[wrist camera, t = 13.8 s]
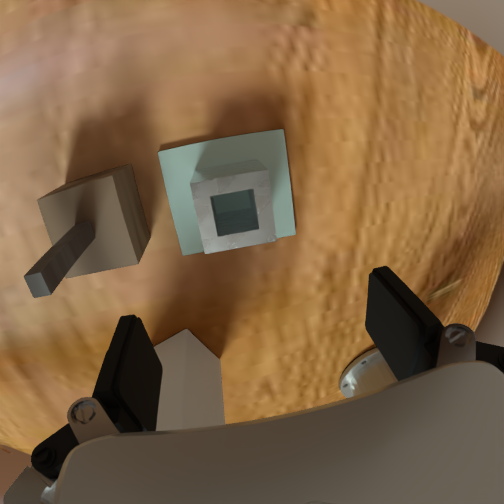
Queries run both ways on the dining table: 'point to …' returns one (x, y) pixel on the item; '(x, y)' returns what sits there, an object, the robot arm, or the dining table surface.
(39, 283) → the post
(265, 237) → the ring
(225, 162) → the mat
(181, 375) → the milk carton
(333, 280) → the dining table surface
